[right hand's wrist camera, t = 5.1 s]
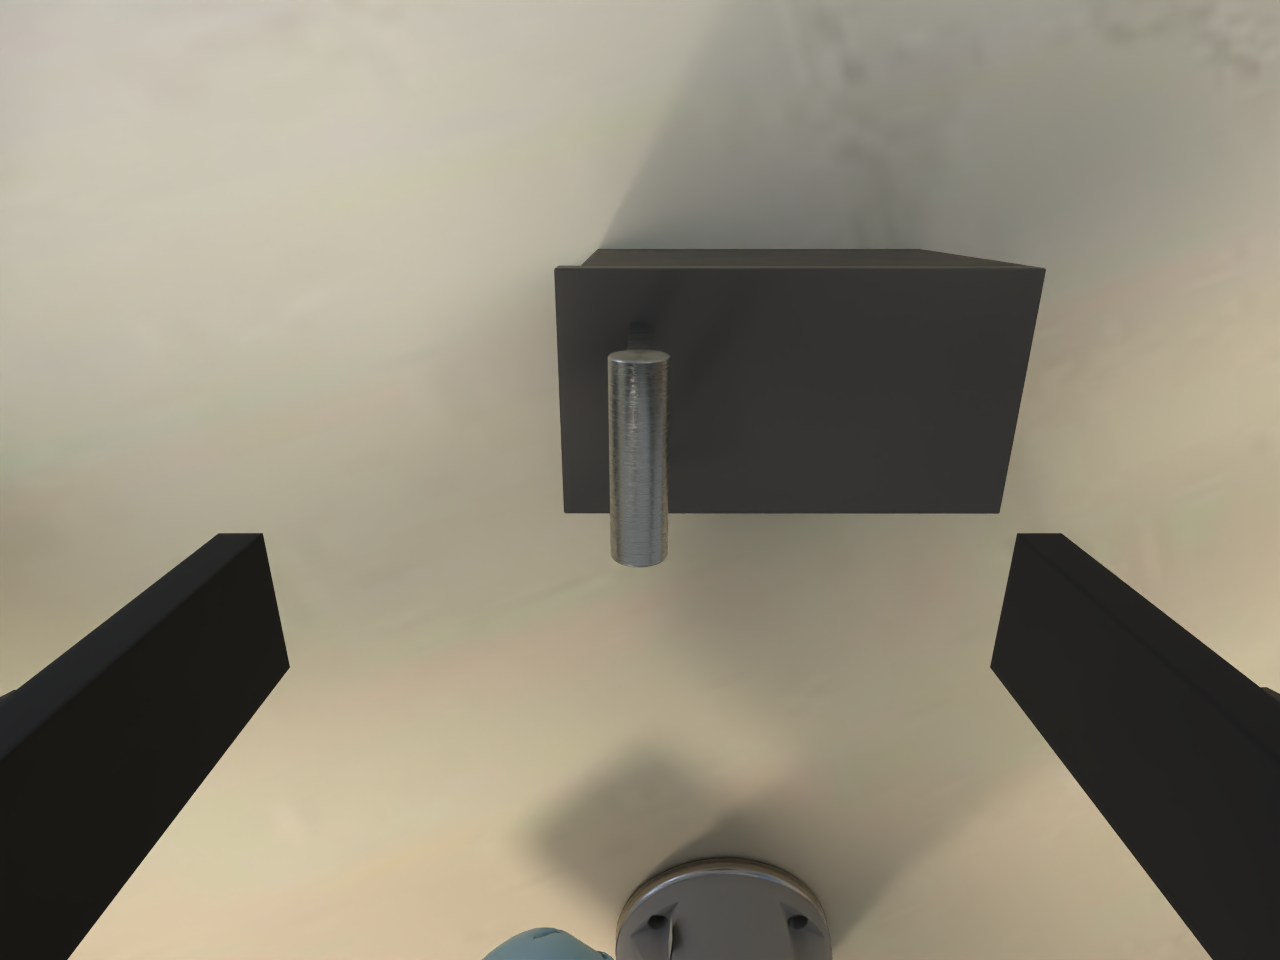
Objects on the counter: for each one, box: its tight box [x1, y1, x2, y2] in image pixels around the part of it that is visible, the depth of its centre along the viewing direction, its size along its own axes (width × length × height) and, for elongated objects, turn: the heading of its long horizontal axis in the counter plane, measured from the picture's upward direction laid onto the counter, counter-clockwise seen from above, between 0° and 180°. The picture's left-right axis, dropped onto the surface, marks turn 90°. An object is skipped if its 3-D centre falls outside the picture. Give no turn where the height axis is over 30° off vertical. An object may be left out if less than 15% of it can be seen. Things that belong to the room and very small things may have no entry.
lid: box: [554, 266, 1046, 567], centre depth 23 cm, size 17×9×9 cm, turn 90°
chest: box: [581, 249, 1026, 266], centre depth 32 cm, size 16×9×11 cm, turn 90°
